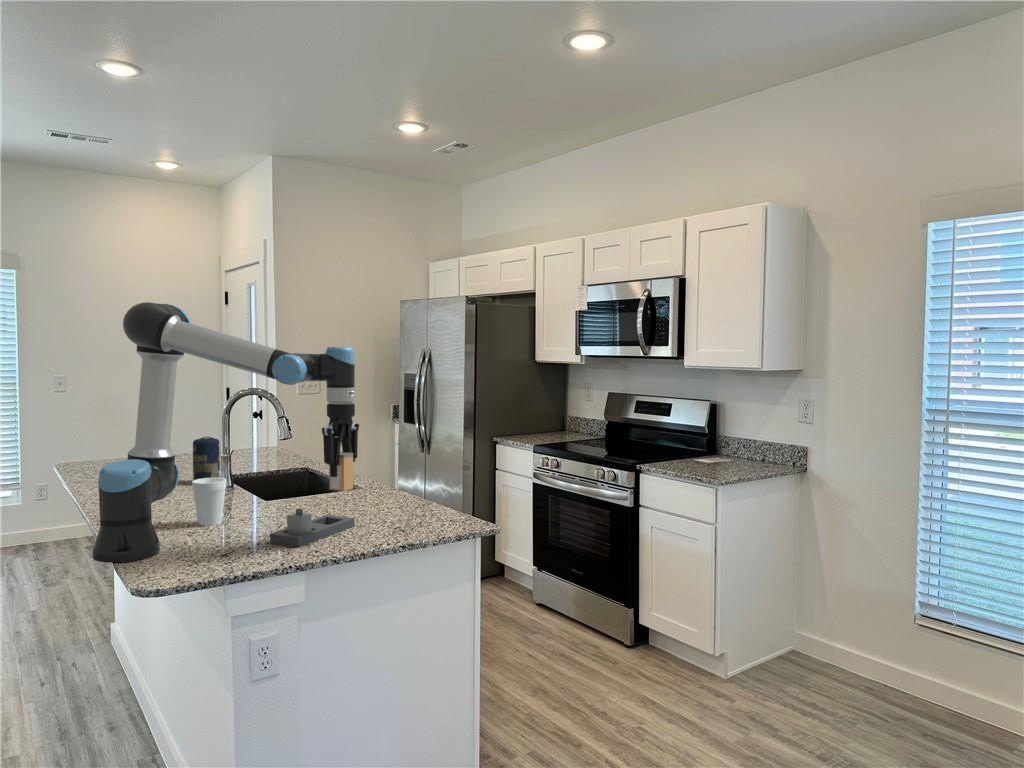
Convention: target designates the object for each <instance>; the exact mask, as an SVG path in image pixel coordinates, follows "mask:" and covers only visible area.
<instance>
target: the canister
mask: <svg viewBox="0 0 1024 768" xmlns="http://www.w3.org/2000/svg"><path fill="white" fill-rule="evenodd" d="M220 455H221V454H220V440H219V438H214V437H211V436H203V437H200V438H196V439H194V440H193V442H192V468H193V469H192V472H193V473H192V479H193V480H192V481H194V480H197V479H202V478H219V476H220V471H219V469H220V467H221V463H220V460H221V459H220ZM220 470H221V469H220Z"/></svg>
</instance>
